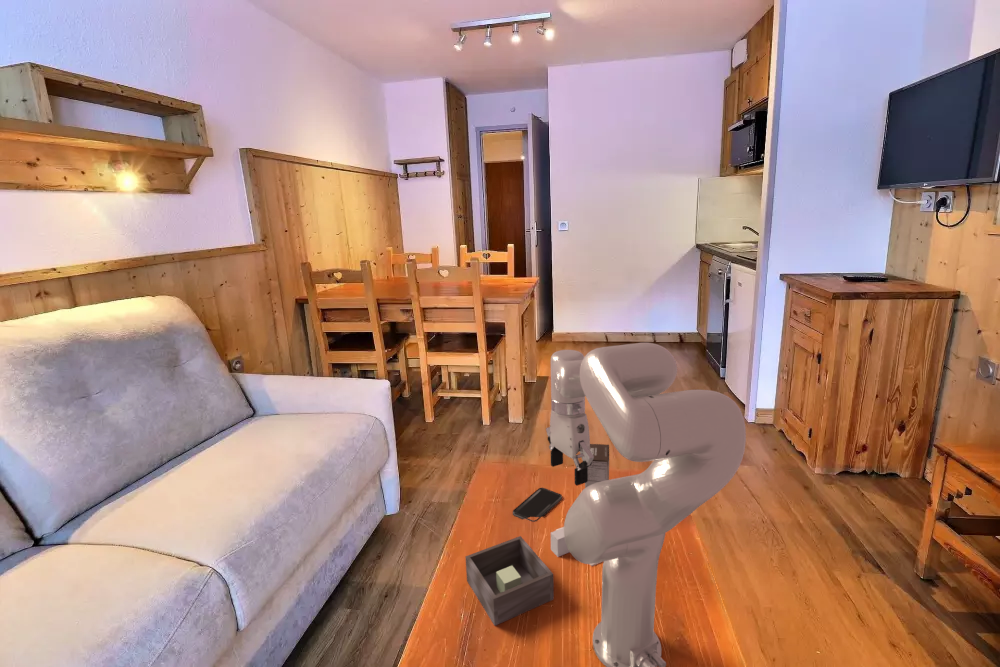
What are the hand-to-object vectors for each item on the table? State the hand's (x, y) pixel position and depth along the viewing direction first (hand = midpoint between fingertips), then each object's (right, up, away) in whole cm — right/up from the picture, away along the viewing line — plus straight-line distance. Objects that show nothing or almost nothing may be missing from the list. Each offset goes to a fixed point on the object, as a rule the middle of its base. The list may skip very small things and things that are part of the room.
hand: (568, 473), depth 115 cm
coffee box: (+11, -15, +24) cm, 30 cm away
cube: (-14, -23, -7) cm, 28 cm away
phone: (-5, -16, +24) cm, 29 cm away
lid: (+1, -21, +6) cm, 22 cm away
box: (-14, -24, -7) cm, 28 cm away
